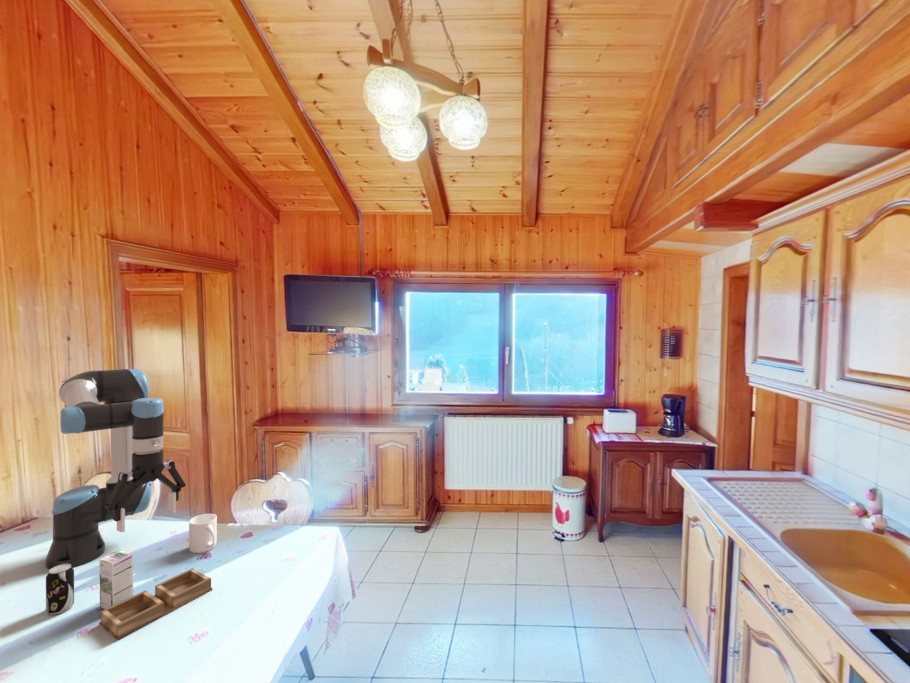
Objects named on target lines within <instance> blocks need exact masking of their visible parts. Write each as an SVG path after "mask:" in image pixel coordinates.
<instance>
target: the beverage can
mask: <svg viewBox="0 0 910 683" xmlns="http://www.w3.org/2000/svg"><path fill="white" fill-rule="evenodd" d="M74 604H75V570H74V567H71V564H62V565H58V566H55V567H53V568H52V569H49V570H48V574H47V575H46V576H45V613H46V614H48V615H58V614H59V615H60V614H62V613H64V612H66V611H68V610H69V609H70V608H71V607H73V606H74Z"/></svg>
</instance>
